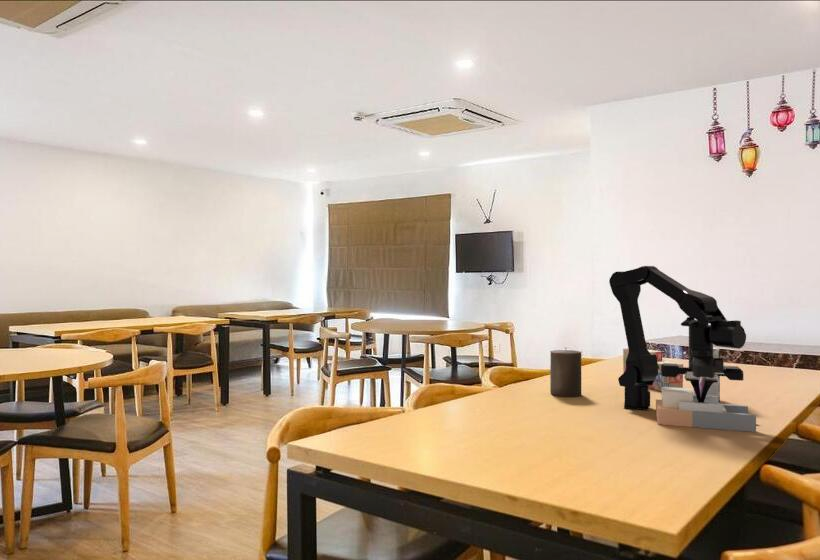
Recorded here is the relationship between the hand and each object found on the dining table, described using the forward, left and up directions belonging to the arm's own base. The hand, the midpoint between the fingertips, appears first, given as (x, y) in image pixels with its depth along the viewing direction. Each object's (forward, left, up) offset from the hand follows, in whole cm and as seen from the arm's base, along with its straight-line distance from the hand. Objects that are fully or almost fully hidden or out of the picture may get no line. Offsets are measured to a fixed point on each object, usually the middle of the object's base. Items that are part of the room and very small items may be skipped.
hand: (700, 405), depth 154 cm
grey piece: (0, 0, -4) cm, 5 cm away
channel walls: (-1, 0, 0) cm, 1 cm away
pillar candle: (-37, +26, -5) cm, 45 cm away
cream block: (-6, 0, 0) cm, 6 cm away
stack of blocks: (-10, +49, -5) cm, 50 cm away
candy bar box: (+4, +31, -5) cm, 32 cm away
